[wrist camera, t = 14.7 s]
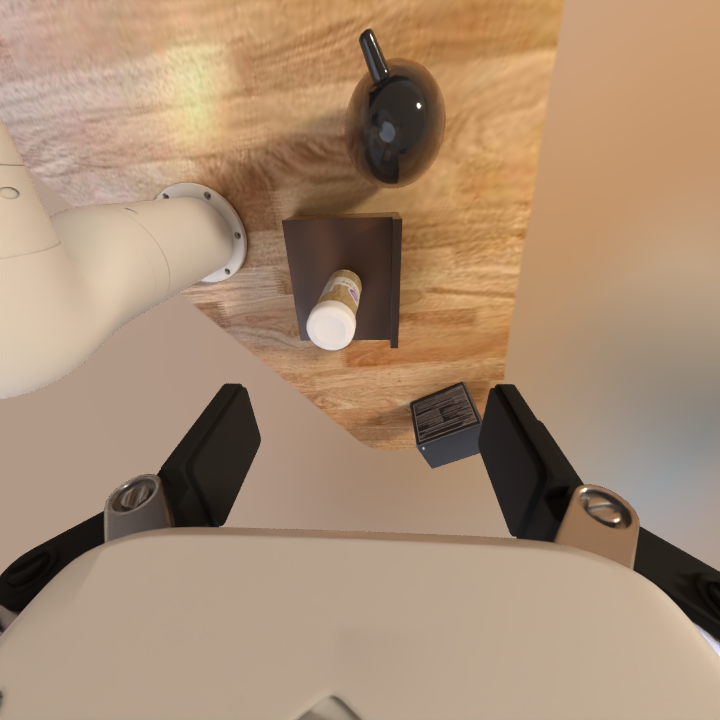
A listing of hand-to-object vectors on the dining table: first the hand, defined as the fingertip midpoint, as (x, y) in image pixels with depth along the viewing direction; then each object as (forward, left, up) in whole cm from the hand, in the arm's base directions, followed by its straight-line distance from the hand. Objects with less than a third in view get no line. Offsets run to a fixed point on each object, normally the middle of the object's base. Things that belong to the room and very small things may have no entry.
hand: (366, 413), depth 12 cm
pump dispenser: (+2, +12, -34) cm, 37 cm away
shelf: (-4, -4, -34) cm, 35 cm away
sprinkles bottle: (-4, -4, -30) cm, 30 cm away
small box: (+12, -28, -34) cm, 46 cm away
